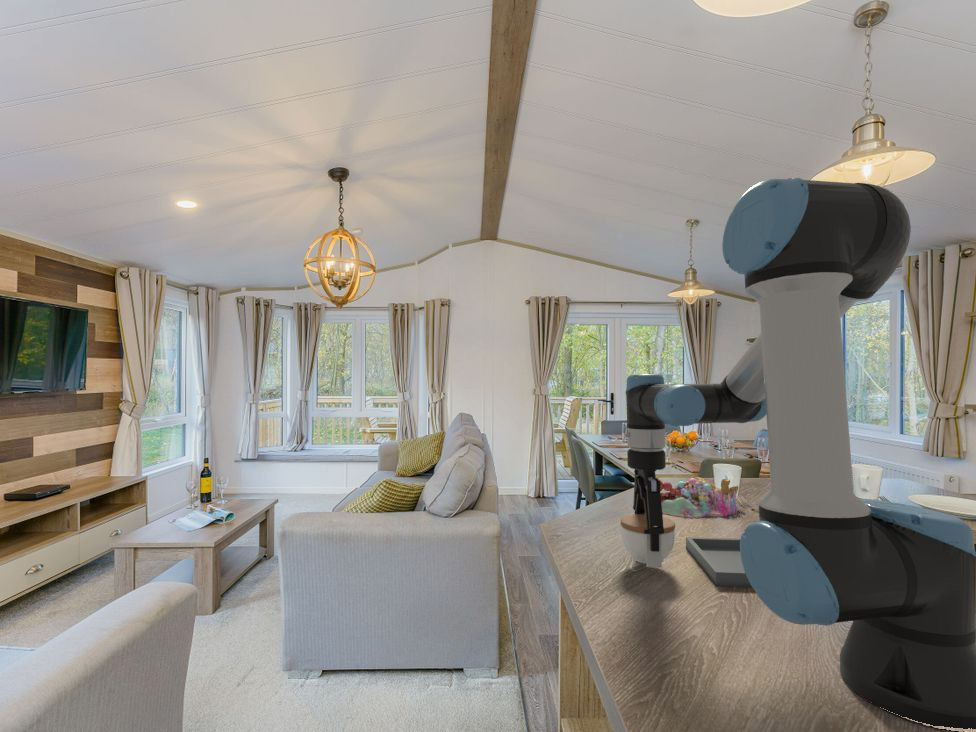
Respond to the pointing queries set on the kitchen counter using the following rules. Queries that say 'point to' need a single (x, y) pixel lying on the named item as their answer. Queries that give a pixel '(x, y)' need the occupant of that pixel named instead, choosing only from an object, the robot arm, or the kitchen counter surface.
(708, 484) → the candy landscape model
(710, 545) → the tray
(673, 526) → the lidded jar
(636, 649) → the kitchen counter surface
